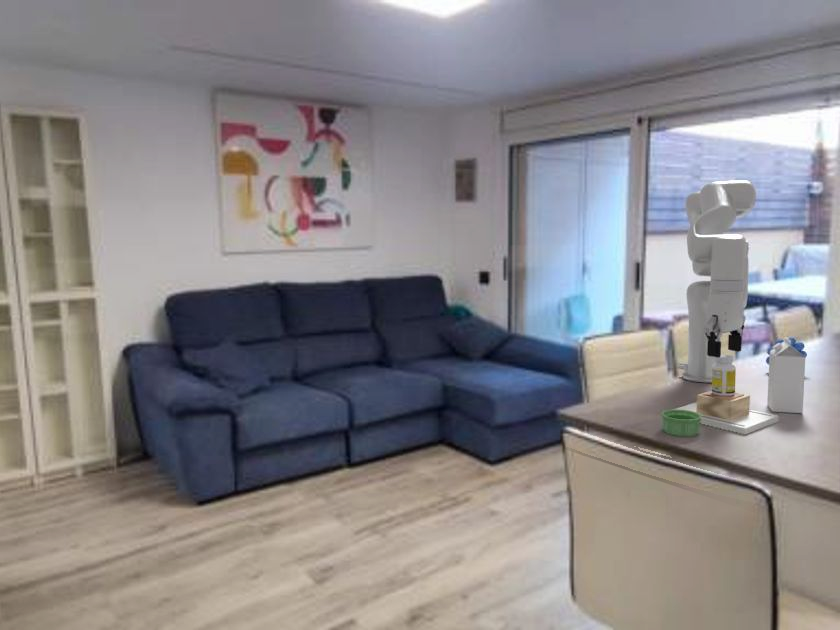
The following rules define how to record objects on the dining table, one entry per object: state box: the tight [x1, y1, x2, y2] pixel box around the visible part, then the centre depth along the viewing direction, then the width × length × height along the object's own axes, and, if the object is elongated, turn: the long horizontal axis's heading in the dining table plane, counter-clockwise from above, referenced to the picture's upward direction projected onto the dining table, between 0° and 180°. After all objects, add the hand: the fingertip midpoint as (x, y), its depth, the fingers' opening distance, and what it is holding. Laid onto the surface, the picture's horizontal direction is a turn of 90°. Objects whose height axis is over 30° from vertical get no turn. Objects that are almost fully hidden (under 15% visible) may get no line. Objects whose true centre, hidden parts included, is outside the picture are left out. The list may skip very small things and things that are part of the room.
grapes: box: [765, 337, 808, 366], centre depth 211 cm, size 12×7×12 cm, turn 60°
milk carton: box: [767, 336, 806, 414], centre depth 169 cm, size 7×7×19 cm
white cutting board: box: [675, 401, 779, 435], centre depth 163 cm, size 20×16×2 cm
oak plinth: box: [696, 389, 751, 420], centre depth 163 cm, size 9×9×5 cm
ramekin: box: [660, 408, 702, 437], centre depth 154 cm, size 9×9×4 cm
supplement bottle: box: [711, 354, 737, 396], centre depth 162 cm, size 5×5×10 cm
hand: (724, 353), depth 162 cm, fingers open, 9 cm apart
